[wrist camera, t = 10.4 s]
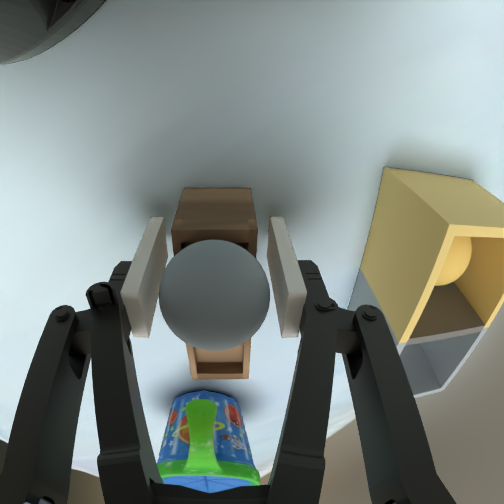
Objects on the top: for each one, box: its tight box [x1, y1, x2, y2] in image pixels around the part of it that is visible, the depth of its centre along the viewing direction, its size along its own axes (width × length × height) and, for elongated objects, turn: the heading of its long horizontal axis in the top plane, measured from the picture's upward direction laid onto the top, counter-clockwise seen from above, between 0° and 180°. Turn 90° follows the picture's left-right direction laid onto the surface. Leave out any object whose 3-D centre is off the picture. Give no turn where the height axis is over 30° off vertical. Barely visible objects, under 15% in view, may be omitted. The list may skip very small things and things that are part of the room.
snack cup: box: [157, 390, 260, 493], centre depth 28 cm, size 16×10×10 cm
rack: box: [171, 188, 258, 379], centre depth 20 cm, size 12×4×5 cm, turn 178°
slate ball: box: [159, 240, 270, 351], centre depth 14 cm, size 5×5×5 cm
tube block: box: [348, 167, 504, 398], centre depth 20 cm, size 16×8×8 cm, turn 178°
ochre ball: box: [435, 236, 472, 286], centre depth 19 cm, size 5×5×5 cm
